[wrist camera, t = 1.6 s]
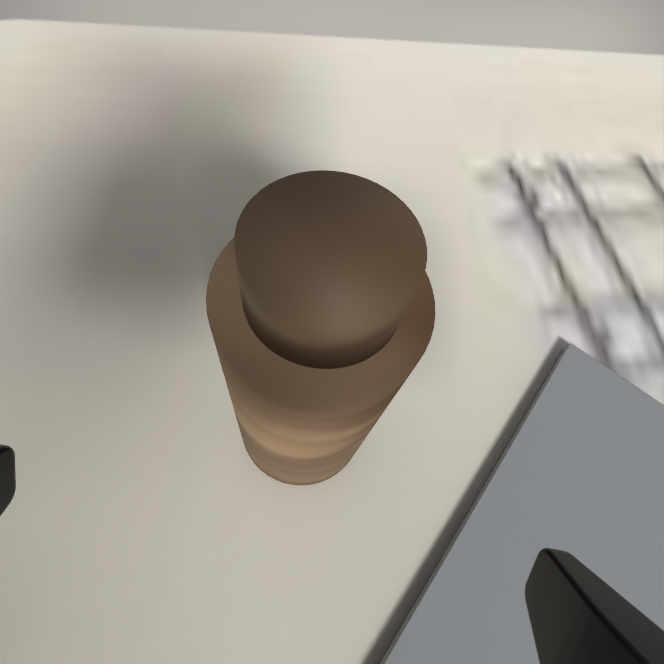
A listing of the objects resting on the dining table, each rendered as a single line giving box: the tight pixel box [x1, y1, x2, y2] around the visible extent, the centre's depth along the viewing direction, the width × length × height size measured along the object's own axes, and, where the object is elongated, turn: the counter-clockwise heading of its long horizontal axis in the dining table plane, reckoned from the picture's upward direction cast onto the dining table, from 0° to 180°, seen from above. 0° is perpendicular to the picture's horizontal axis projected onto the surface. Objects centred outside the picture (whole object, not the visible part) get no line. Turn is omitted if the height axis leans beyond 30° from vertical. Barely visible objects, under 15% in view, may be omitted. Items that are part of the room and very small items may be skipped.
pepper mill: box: [206, 171, 435, 485], centre depth 15 cm, size 5×5×13 cm
